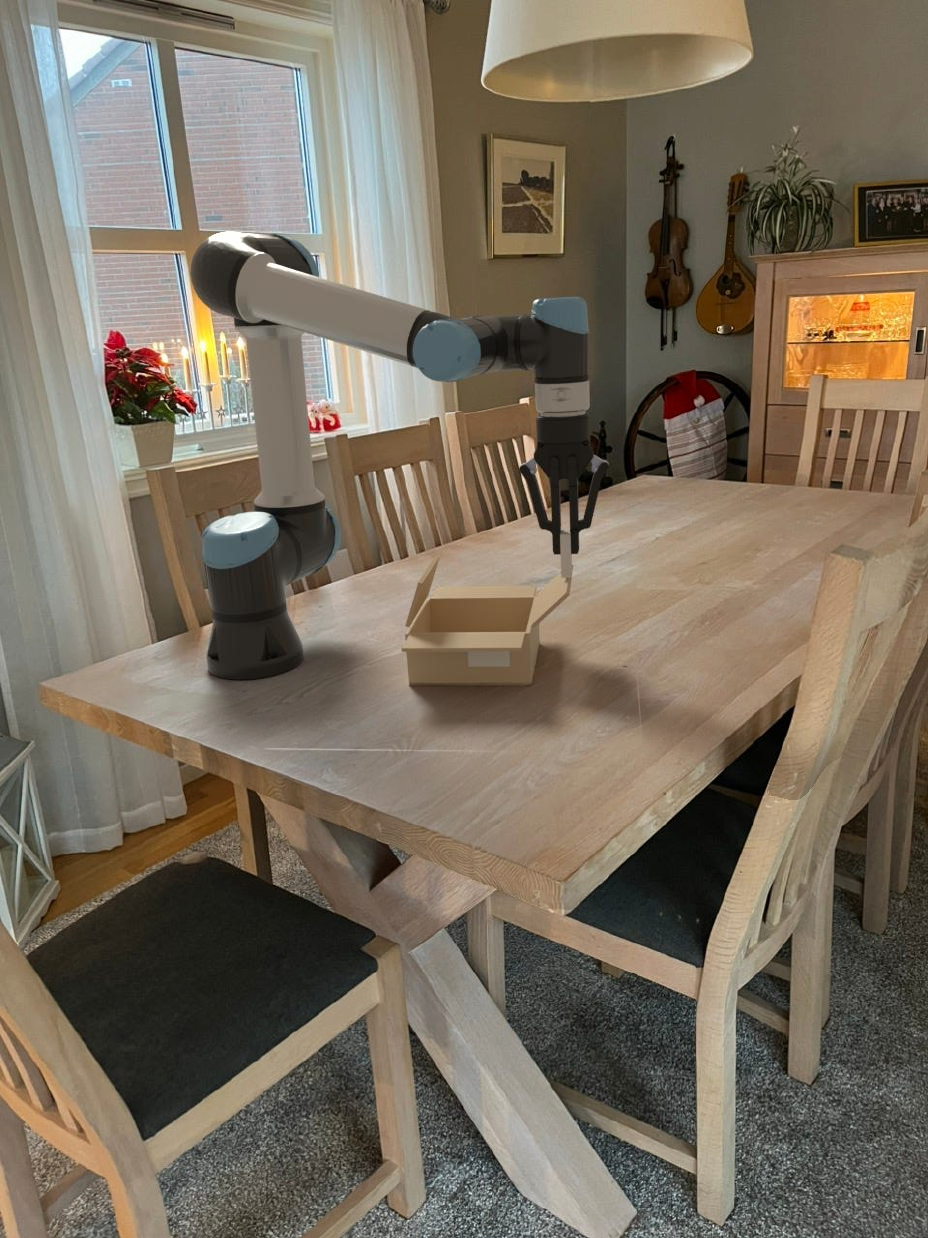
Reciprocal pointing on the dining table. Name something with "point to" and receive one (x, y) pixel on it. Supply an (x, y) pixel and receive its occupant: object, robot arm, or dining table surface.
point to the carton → (474, 637)
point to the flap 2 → (551, 598)
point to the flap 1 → (422, 590)
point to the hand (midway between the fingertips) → (566, 575)
